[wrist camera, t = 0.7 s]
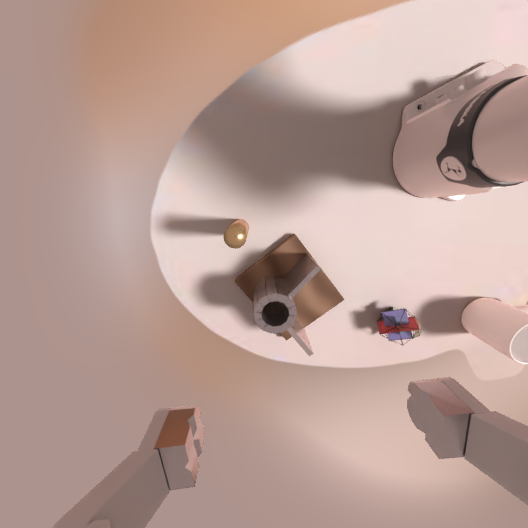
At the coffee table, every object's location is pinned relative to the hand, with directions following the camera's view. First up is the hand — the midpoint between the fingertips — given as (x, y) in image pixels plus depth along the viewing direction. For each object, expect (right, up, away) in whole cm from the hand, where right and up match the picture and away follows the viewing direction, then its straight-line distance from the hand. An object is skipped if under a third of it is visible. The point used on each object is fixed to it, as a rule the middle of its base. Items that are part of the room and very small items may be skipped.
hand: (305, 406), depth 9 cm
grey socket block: (+4, 0, +37) cm, 37 cm away
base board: (+3, +1, +38) cm, 38 cm away
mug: (+45, -4, +41) cm, 61 cm away
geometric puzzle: (+24, -5, +41) cm, 47 cm away
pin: (-6, +12, +35) cm, 37 cm away
